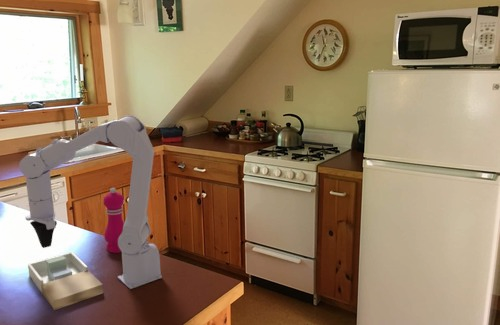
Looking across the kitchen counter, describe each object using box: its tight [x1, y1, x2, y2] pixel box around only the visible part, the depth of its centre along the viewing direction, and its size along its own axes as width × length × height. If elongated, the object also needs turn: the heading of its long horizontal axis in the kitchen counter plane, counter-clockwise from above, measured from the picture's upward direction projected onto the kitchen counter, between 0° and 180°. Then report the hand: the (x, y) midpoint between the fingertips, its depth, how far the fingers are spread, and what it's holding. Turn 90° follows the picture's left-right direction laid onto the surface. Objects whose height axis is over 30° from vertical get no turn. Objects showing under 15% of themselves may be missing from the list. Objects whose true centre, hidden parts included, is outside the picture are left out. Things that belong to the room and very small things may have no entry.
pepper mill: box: [103, 187, 125, 254], centre depth 136 cm, size 7×7×20 cm
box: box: [27, 251, 89, 293], centre depth 120 cm, size 12×12×4 cm
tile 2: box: [49, 266, 72, 281], centre depth 118 cm, size 4×4×2 cm
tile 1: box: [46, 256, 67, 277], centre depth 120 cm, size 4×4×2 cm
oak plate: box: [41, 269, 104, 311], centre depth 112 cm, size 12×10×2 cm
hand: (46, 246), depth 118 cm, fingers closed
